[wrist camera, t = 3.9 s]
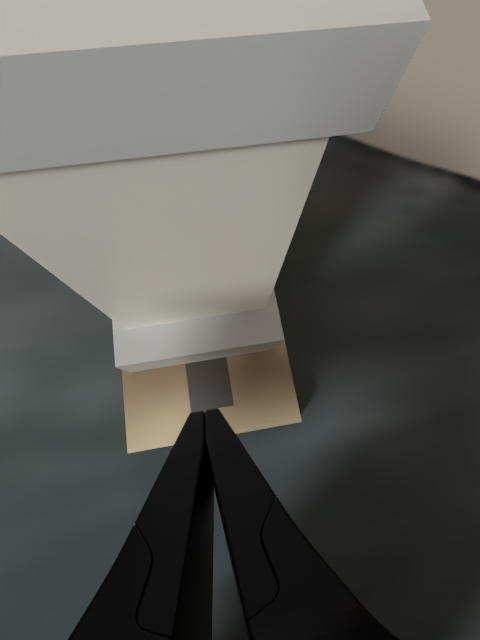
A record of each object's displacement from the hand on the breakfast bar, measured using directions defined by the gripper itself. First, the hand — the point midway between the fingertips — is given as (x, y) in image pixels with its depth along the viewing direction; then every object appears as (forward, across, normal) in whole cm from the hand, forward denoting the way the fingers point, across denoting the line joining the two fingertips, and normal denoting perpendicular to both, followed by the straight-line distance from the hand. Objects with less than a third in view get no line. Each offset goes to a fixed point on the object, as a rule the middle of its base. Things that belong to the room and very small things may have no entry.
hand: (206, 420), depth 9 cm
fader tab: (+7, 0, 0) cm, 7 cm away
